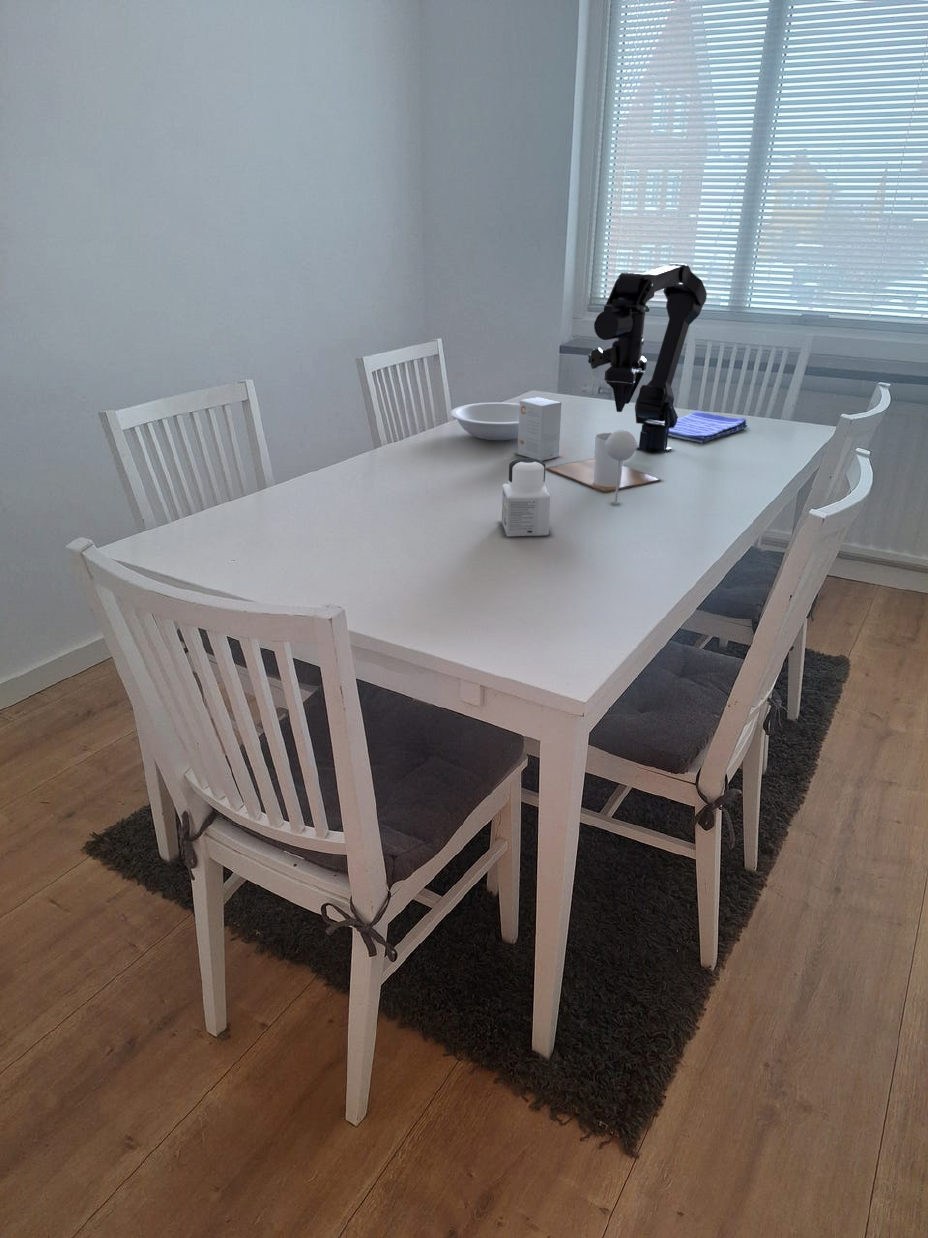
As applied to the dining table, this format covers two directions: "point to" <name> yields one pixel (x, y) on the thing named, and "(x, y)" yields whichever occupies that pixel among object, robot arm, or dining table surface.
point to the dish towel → (705, 427)
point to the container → (526, 499)
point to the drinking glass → (605, 463)
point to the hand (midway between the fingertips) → (622, 407)
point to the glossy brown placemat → (585, 475)
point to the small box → (539, 428)
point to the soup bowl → (489, 420)
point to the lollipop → (620, 449)
